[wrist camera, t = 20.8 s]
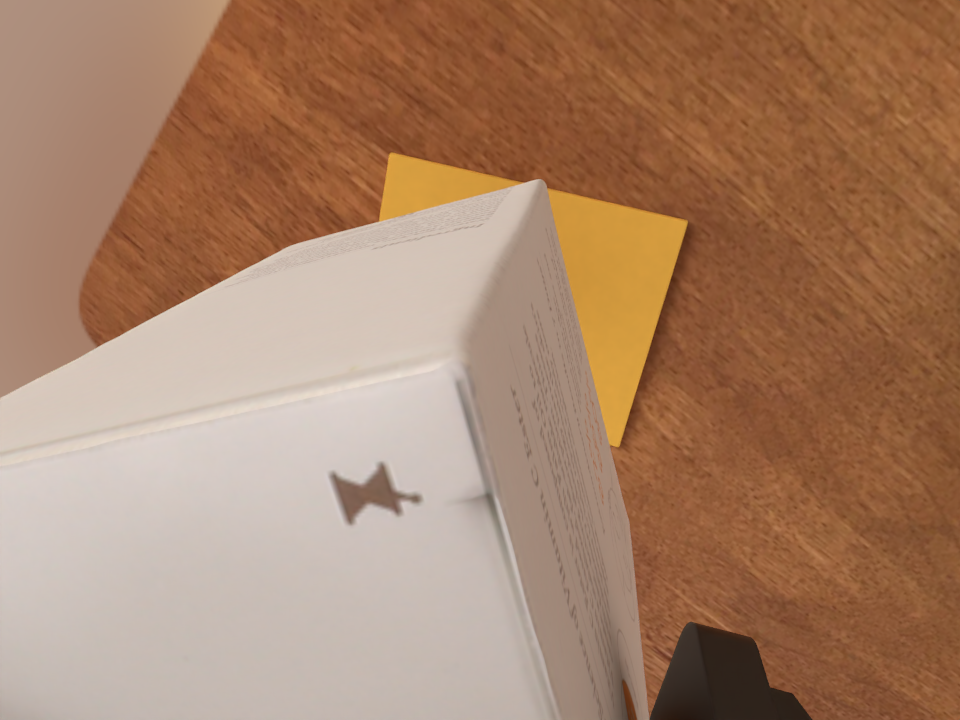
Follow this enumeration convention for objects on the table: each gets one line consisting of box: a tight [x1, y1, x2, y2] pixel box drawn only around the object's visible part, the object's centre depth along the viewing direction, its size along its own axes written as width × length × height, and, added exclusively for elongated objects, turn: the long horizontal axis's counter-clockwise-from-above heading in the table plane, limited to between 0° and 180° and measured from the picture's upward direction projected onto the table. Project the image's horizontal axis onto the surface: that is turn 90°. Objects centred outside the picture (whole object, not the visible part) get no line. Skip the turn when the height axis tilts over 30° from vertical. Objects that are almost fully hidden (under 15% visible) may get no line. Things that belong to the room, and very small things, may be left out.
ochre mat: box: [379, 153, 688, 447], centre depth 31 cm, size 12×10×1 cm
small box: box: [0, 179, 649, 720], centre depth 11 cm, size 8×6×10 cm
